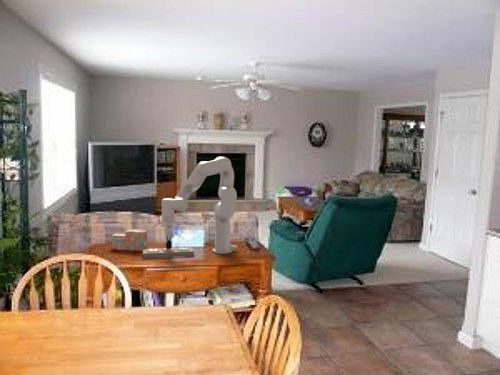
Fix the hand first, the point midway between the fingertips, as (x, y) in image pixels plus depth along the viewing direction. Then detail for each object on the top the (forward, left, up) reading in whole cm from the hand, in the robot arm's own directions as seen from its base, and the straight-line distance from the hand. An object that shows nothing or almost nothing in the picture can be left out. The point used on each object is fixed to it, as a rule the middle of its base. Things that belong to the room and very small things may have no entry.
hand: (168, 248), depth 270 cm
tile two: (-9, 0, -3) cm, 9 cm away
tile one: (+9, 0, -3) cm, 10 cm away
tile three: (0, 0, -3) cm, 3 cm away
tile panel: (0, 0, -4) cm, 4 cm away
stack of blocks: (+24, -19, -5) cm, 31 cm away
